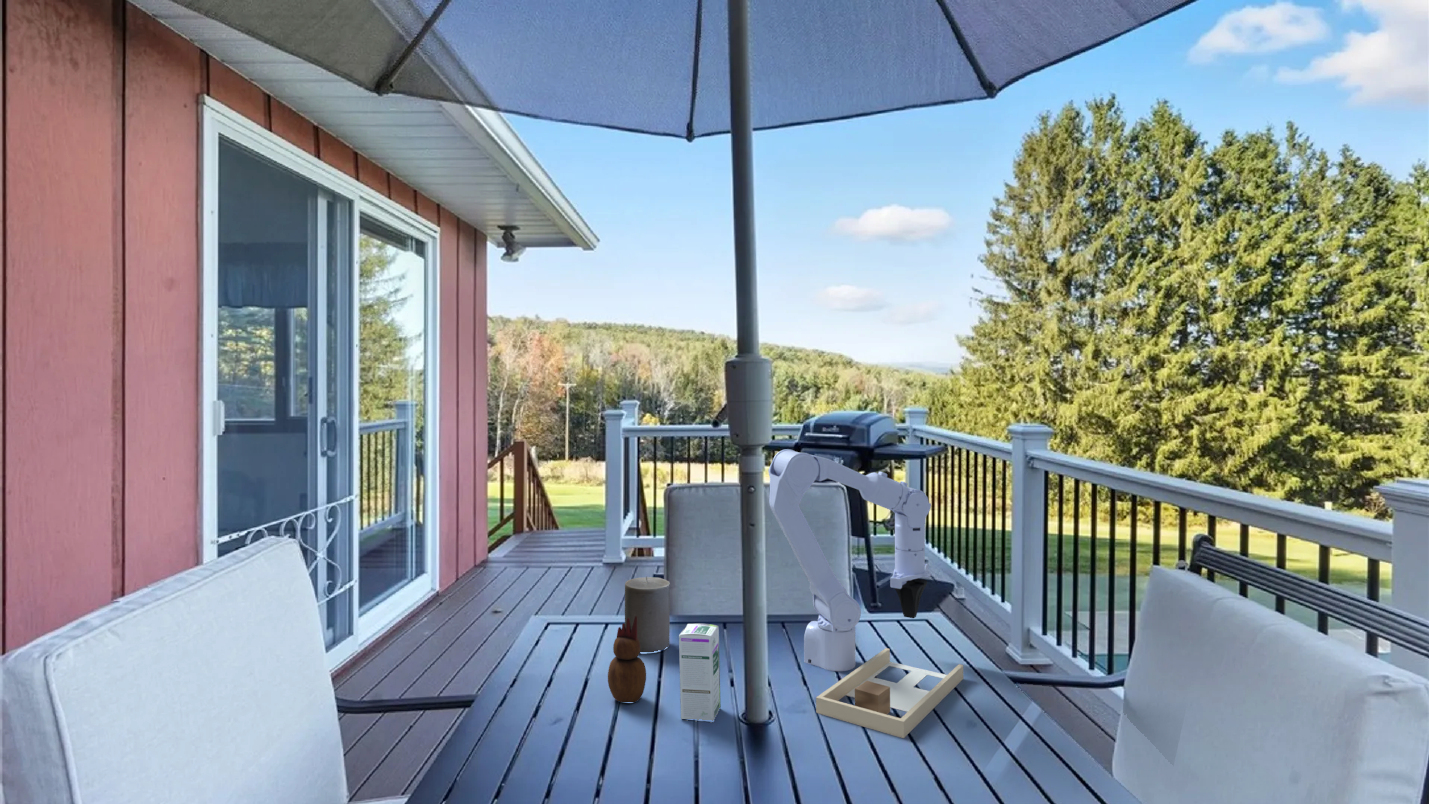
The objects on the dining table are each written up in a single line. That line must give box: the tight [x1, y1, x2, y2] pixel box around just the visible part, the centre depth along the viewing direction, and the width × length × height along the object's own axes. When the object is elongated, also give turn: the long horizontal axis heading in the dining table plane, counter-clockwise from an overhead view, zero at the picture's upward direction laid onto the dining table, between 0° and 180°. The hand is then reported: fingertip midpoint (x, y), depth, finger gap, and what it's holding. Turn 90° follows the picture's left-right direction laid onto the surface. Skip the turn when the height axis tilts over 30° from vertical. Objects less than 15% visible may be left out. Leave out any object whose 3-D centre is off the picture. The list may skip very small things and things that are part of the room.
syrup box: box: [678, 623, 721, 721], centre depth 122 cm, size 6×6×14 cm
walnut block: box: [854, 681, 891, 715], centre depth 119 cm, size 4×4×4 cm
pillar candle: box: [624, 576, 671, 652], centre depth 155 cm, size 10×10×15 cm
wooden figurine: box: [607, 616, 647, 703], centre depth 128 cm, size 7×6×15 cm
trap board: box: [815, 647, 964, 739], centre depth 126 cm, size 15×28×4 cm, turn 143°
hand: (909, 616), depth 144 cm, fingers closed
